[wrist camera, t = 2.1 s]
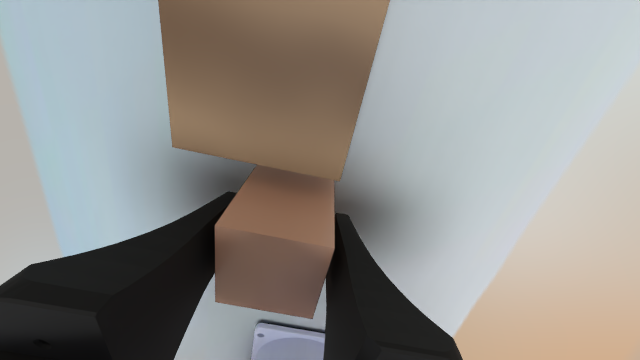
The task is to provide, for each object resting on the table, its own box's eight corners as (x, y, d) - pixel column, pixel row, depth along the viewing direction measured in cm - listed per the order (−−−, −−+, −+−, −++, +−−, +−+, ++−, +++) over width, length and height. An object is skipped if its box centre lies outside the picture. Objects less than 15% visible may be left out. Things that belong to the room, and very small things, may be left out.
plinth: (338, 162, 12) (339, 181, 10) (197, 132, 11) (172, 147, 10) (384, -12, 9) (398, -30, 7) (189, -61, 8) (149, -93, 6)
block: (319, 236, 14) (312, 319, 10) (252, 224, 14) (215, 302, 10) (334, 179, 12) (334, 248, 8) (257, 163, 12) (214, 225, 8)
